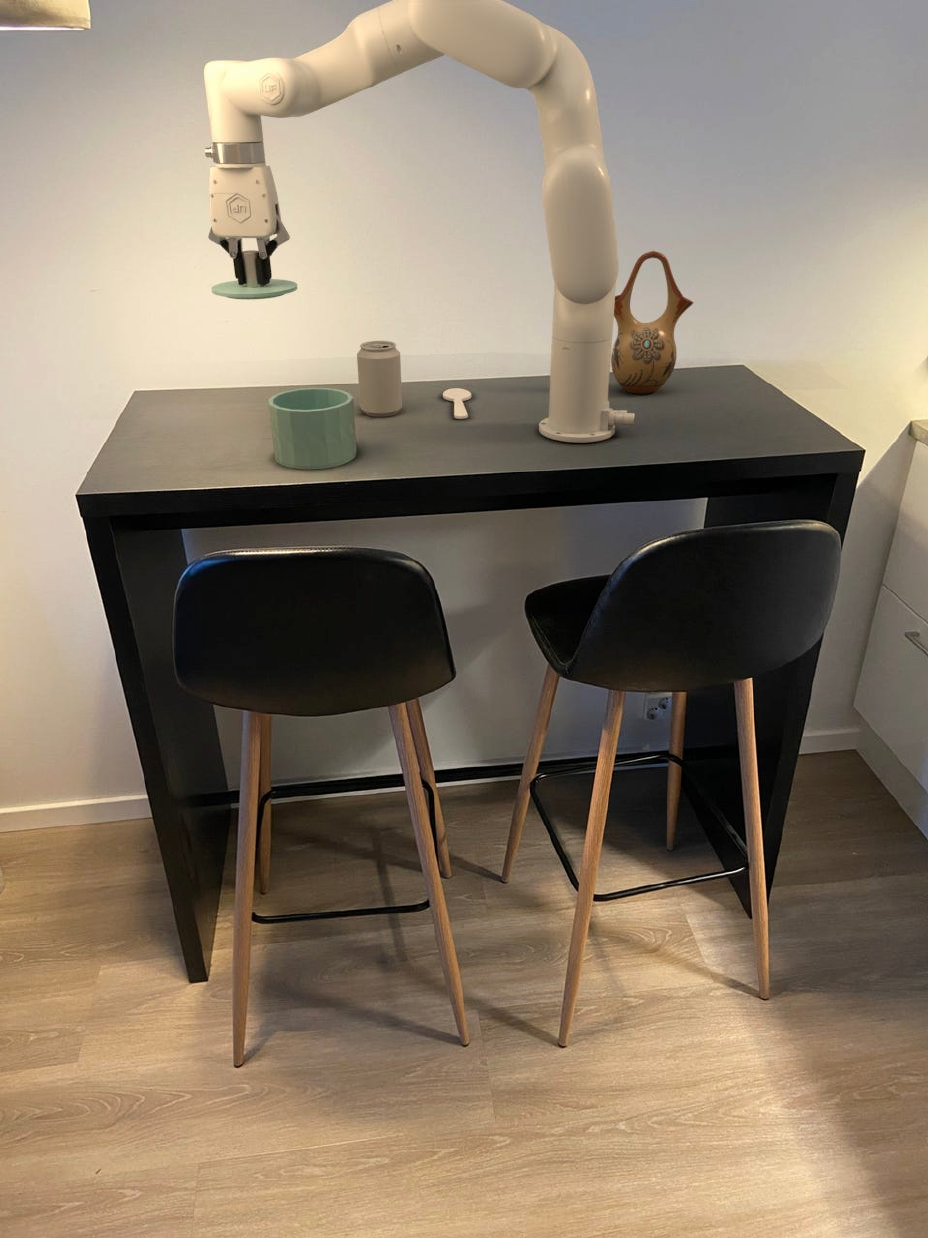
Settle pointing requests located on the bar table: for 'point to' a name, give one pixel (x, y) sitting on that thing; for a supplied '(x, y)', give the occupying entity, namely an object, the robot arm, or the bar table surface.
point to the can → (379, 378)
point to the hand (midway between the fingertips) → (254, 282)
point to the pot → (313, 428)
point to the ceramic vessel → (646, 336)
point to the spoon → (458, 401)
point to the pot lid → (253, 283)
